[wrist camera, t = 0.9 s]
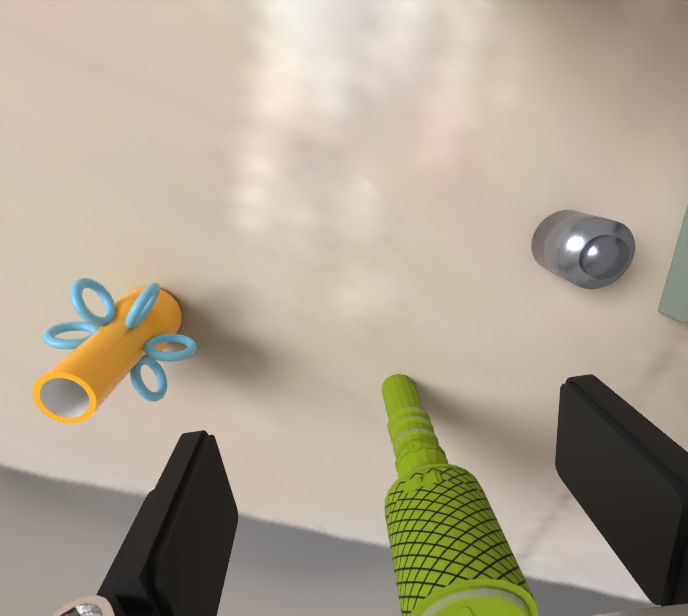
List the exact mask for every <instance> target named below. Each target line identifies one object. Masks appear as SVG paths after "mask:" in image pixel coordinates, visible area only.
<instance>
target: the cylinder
mask: <svg viewBox="0 0 688 616" xmlns="http://www.w3.org/2000/svg"><path fill="white" fill-rule="evenodd" d="M84 288H90V289H92V290H93V291H95V292H96V293H97V294H98V295H99V296H100V298H101V299H102V301H103V303H104V306H105V313H104V315H103V317H98V316H96V315H94V314H93V313H92V312H91V311H90V310H89V309H88V308H87V307H86V305H85V303H84V301H83V298H82V290H83V289H84ZM70 297H71V301H72V304H73V306H74V308H75V310H76V312H77V313H78V314H79V315H80V316H81V318H83V319H84V320H85V321H86V322H68V323H62V324H58V325H55V326H53V327H51V328H49V329H47V330H46V331H45V332H44V334H43V341H44V342H45V343H46V344H47V345H49V346H51V347H54V348H58V349H75V350H73V351H72V352H71V353H70V354H68V355H67V356H66V357H65V358H63V359H62V360H61V361H60V362H59V363H57V364H56V365H55V366H54V367H52V368H51V369H50V370H49V371H47V372H46V373H45V374H44V375H43V376H41V377H40V378H39V379H38V380H37V381H36V382H35V384H34V387H33V399H34V401H35V403H36V405H37V407H38V408H39V409H40V410H41V411H42V412H43V413H44V414H45V415H47V416H48V417H50V418H52V419H54V420H56V421H59V422H64V423H78V422H82V421H84V420H86V419H88V418H89V417H90V416H91V415H92V414H93V413H94V412H95V411H96V410H97V409H98V407H99V406H100V405H101V404H102V403H103V402H104V400H105V399H106V398H107V397H108V396H109V395H110V394H111V392H112V391H113V390H114V389H115V388H116V387H117V385H118V384H119V383H120V382H121V381H122V380H123V379H124V377H125V376H126V375H127V374H128V373H129V372H130V375H131V380H132V383H133V386H134V388H135V389H136V391H137V392H138V394H139V395H140V396H141V397H143V398H144V399H146V400H148V401H158V400H160V399H162V398H163V397H164V395H165V393H166V391H167V379H166V375H165V373H164V370H163V369H162V367H161V366H160V364H159V363H158V362H157V361H156V360H159V361H168V362H170V361H179V360H183V359H186V358H188V357H190V356H192V355H193V354H194V353H195V351H196V349H197V345H196V342H195V341H194V340H193V339H191V338H190V337H188V336H185V335H180V334H176V333H177V331H178V330H179V328H180V326H181V322H182V313H181V309H180V306H179V305H178V302H177V301H176V300H175V299H174V297H173V296H171V295H170V294H169V293H168V292H166V291H164V290H162V289H160V286H159V285H158V284H156V283H153V284H150V285H149V286H141V287H137V288H134V289H132V290H131V291H129V292H128V293H126V294H125V295H124V296H122V297H121V298H120V299H118V300H117V301H116V302H114V301H113V299H112V297H111V295H110V294H109V292H108V291H107V290H106V289H105V288H104V287H103V286H102V285H101V284H100V283H98V282H97V281H95V280H92V279H88V278H83V279H79V280H77V281H76V282H74V284H73V285H72V287H71V291H70ZM87 322H88V323H87ZM100 327H101V328H100ZM67 331H87V332H91V333H92V335H90V336H88V337H85V338H81V339H74V340H64V339H58V338H55V337H54V336H56V335H57V334H60V333H63V332H67ZM169 342H176V343H181V344H184V345H186V346H187V348H186V349H184V350H182V351H178V352H162V350H163V349H164V348H165V346H166V345H167V344H168V343H169ZM143 364H145V365H147V366H149V367H150V368H151V369H152V370H153V371H154V373H155V375H156V377H157V380H158V390H157V391H156V392H151V391H150V390H149V389H147V387H146V386H145V385H144V383H143V381H142V378H141V373H140V370H141V366H142V365H143Z"/></svg>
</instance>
